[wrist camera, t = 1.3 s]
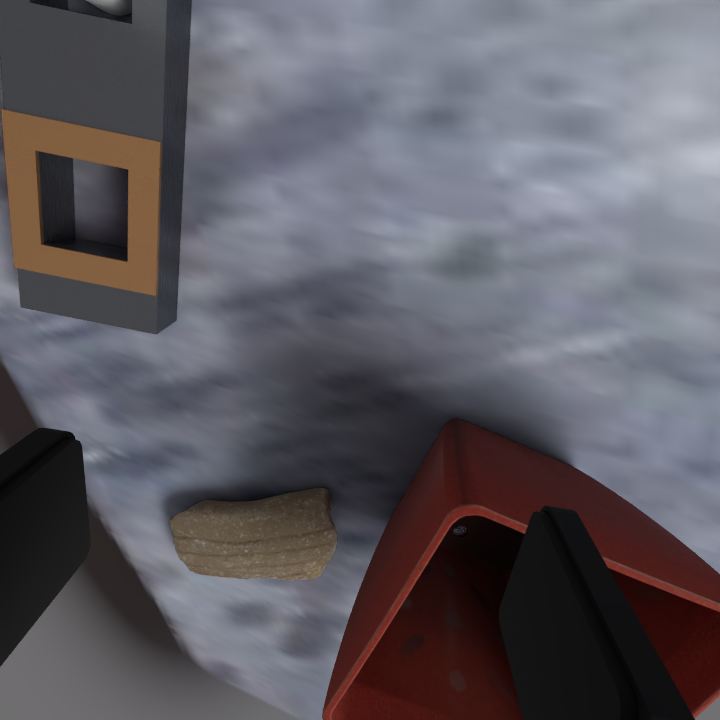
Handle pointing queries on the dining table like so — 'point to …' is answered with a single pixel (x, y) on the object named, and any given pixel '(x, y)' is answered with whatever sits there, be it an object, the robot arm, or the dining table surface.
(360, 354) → the dining table surface
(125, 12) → the tube
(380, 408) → the dining table surface
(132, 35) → the rack
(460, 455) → the plant pot
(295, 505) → the decorative stone
